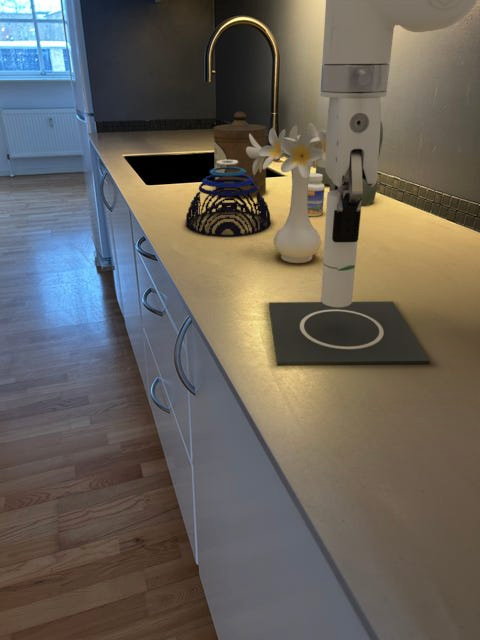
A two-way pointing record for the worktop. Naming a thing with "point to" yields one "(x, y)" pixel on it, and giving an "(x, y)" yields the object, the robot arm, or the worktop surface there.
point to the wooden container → (239, 151)
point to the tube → (337, 262)
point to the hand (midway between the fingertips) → (341, 233)
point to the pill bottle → (315, 194)
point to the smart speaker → (322, 172)
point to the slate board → (342, 334)
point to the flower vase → (294, 187)
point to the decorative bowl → (228, 204)
